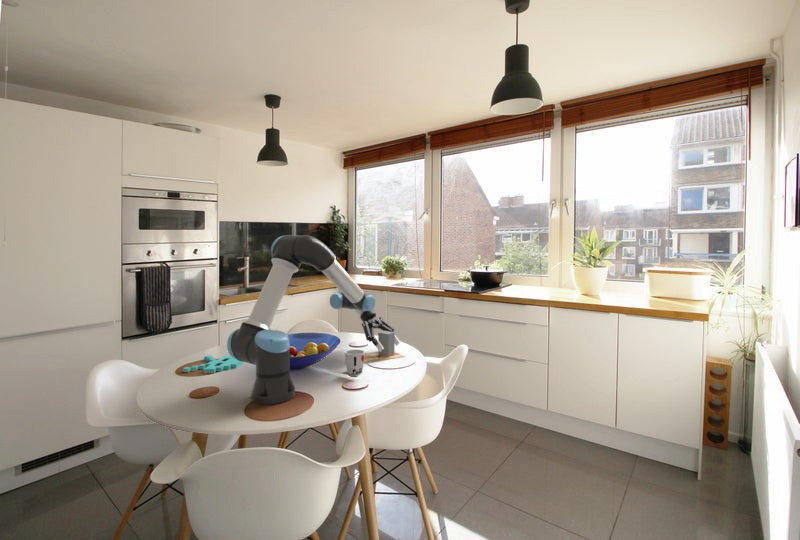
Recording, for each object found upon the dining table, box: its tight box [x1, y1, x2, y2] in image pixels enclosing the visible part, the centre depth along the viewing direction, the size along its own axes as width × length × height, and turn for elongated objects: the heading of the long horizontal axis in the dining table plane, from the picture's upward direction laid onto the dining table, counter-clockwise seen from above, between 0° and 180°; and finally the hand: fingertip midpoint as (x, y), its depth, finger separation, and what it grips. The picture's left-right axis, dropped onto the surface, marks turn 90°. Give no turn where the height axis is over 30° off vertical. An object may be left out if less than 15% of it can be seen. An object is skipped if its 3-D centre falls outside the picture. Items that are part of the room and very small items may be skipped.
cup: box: [344, 349, 365, 378], centre depth 169 cm, size 8×8×10 cm
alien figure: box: [182, 354, 243, 374], centre depth 182 cm, size 20×2×20 cm
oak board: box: [363, 350, 406, 365], centre depth 192 cm, size 14×24×2 cm, turn 121°
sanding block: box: [377, 330, 396, 357], centre depth 194 cm, size 6×5×11 cm
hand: (390, 347), depth 193 cm, fingers open, 13 cm apart
